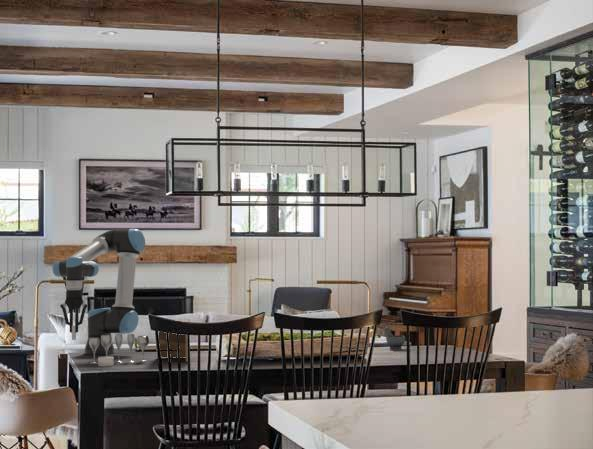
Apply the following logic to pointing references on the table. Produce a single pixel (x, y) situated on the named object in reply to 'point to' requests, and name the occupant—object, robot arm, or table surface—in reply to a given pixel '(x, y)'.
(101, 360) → the cream squat rounded piece
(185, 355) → the walnut shelf
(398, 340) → the mortar and pestle
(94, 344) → the goblet set
